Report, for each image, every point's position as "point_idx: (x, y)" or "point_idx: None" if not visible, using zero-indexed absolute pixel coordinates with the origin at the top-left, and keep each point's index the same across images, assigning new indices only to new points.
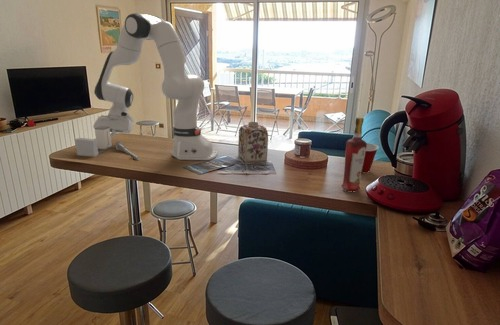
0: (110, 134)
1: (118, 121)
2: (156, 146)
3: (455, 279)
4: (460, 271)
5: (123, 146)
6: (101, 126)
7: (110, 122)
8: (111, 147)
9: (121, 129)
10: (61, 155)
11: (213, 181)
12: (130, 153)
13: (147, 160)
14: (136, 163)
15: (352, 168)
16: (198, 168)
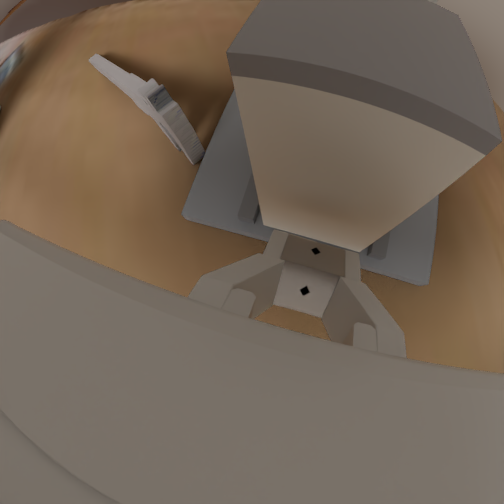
0: (277, 257)
1: (8, 487)
2: None
3: (19, 3)
4: (12, 9)
5: (127, 81)
6: (452, 84)
7: None
8: (251, 177)
9: (44, 241)
10: None
11: (23, 32)
12: (109, 62)
13: (69, 67)
14: (109, 34)
15: None
16: (5, 69)
